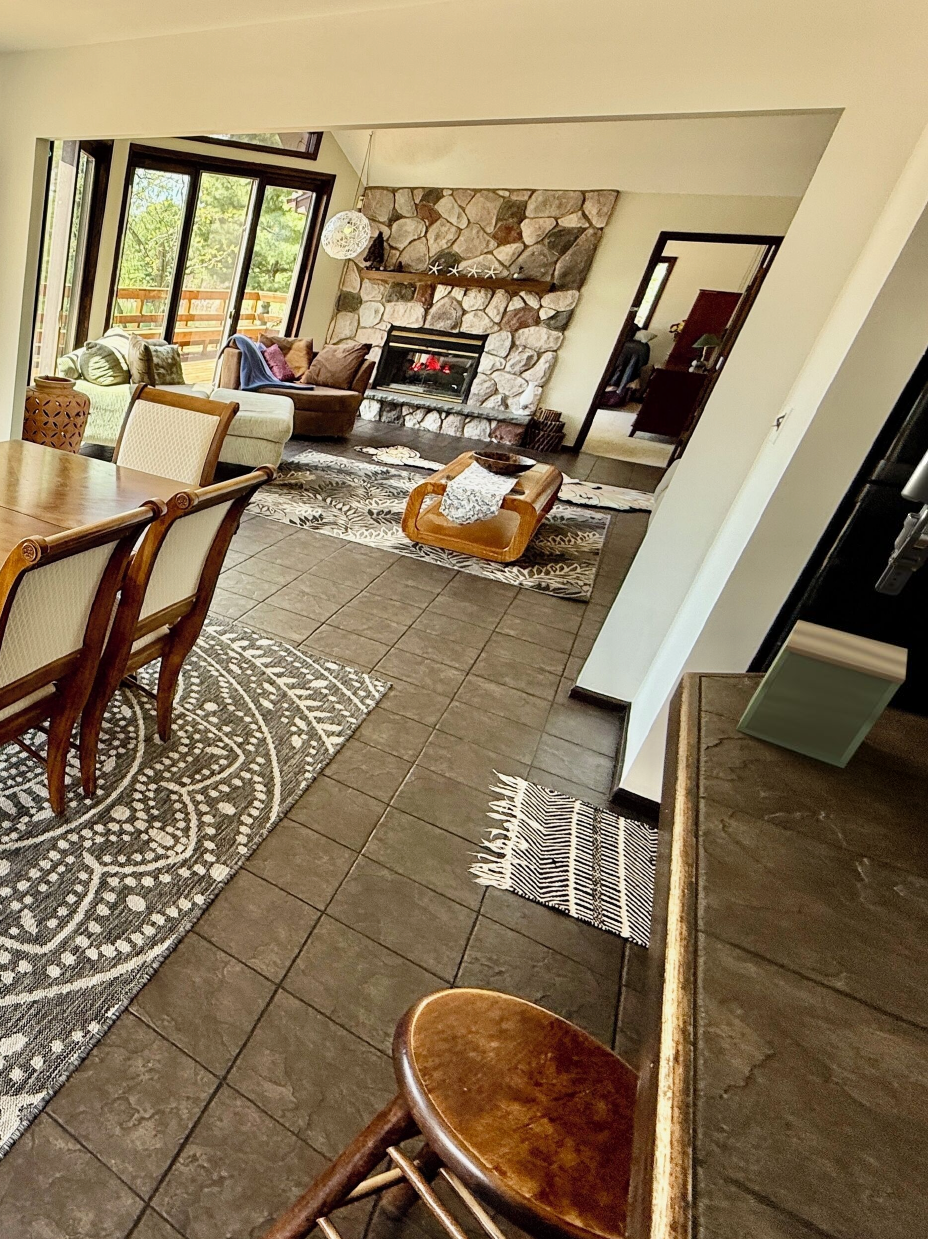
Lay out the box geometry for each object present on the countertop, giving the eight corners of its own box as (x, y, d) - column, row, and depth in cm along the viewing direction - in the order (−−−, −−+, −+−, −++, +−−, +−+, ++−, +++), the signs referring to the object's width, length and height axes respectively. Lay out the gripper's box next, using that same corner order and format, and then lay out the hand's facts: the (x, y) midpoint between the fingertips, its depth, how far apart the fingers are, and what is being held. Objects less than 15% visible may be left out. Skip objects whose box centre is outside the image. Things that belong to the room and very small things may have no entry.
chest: (843, 768, 106) (902, 682, 100) (735, 729, 114) (784, 648, 108) (850, 734, 115) (904, 654, 110) (750, 700, 123) (795, 624, 118)
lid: (901, 684, 100) (905, 679, 99) (783, 649, 108) (786, 644, 107) (904, 653, 110) (907, 649, 109) (795, 624, 118) (798, 619, 117)
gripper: (1016, 481, 88) (927, 612, 95) (1006, 470, 96) (925, 592, 103) (921, 466, 93) (843, 592, 100) (919, 457, 101) (848, 574, 108)
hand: (885, 592), depth 101 cm, fingers closed
